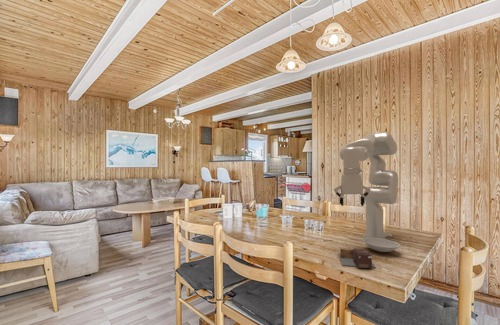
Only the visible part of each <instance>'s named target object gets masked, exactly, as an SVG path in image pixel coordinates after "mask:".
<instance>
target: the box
mask: <svg viewBox="0 0 500 325" xmlns="http://www.w3.org/2000/svg"><path fill="white" fill-rule="evenodd" d="M352 249H353V261H354V263H355V264H356V265H357V267H356V268H358V269H373V268H372V263H373V256H372V254H371V253H370V251H369V252H368V251H367V250H368V249H365V248H364V249H363V248H352Z"/></svg>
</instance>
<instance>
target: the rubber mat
mask: <svg viewBox="0 0 500 325" xmlns="http://www.w3.org/2000/svg"><path fill="white" fill-rule="evenodd" d="M337 255H338V258H339V261H340V263H341V266H342V267H351V268H358V267H357V265H356V264H355V263H354V261H353V259H351V258H341V257H340V253H337ZM376 268H377V266H376V265H375V264H374V263H373V262H372V268H371V269H376Z"/></svg>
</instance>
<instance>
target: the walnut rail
mask: <svg viewBox="0 0 500 325" xmlns="http://www.w3.org/2000/svg"><path fill="white" fill-rule="evenodd" d="M353 249H354V248H351V249H349V248H340V253H339V254H340V257H341V258H351V259H353ZM366 250H367V251H368V252H369V253H370V250H368V249H366Z"/></svg>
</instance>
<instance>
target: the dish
mask: <svg viewBox="0 0 500 325" xmlns="http://www.w3.org/2000/svg"><path fill="white" fill-rule="evenodd" d="M362 242H363V243H364V244H365V245H366V247H369V248H370V249H371V250H374V251H377V252H379V253H389V252H390V253H391V252H393V251H396V250H397V249H398V248H400V247H401V244H400V243H399V242H397V241H395V240H391V239H387V238H386V239H380V238H363V239H362Z"/></svg>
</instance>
